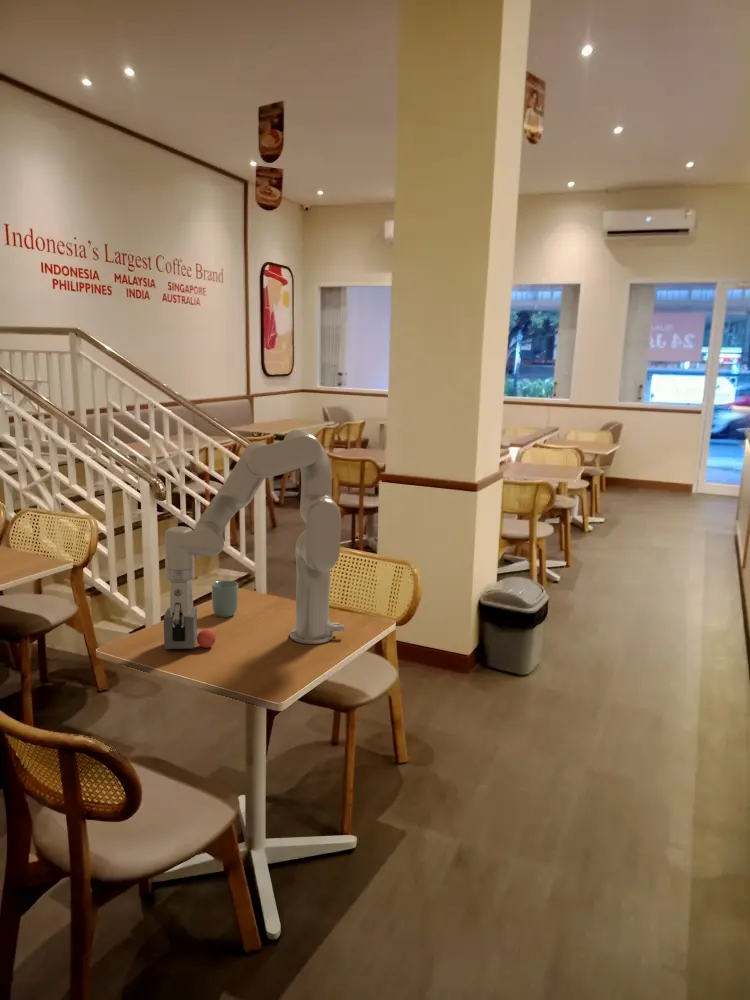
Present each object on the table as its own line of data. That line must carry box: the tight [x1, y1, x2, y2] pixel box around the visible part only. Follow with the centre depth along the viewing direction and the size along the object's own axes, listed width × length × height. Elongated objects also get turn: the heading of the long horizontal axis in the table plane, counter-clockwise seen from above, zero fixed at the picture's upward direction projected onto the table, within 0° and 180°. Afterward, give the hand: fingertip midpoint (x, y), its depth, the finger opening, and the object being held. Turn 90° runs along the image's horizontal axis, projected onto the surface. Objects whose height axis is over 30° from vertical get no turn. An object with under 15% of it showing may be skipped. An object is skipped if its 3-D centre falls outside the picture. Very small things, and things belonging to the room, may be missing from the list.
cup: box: [211, 580, 239, 618], centre depth 219 cm, size 8×8×10 cm
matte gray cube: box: [163, 606, 198, 650], centre depth 193 cm, size 8×8×9 cm
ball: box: [196, 628, 217, 648], centre depth 195 cm, size 5×5×5 cm
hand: (181, 634), depth 194 cm, fingers closed on matte gray cube, 7 cm apart
